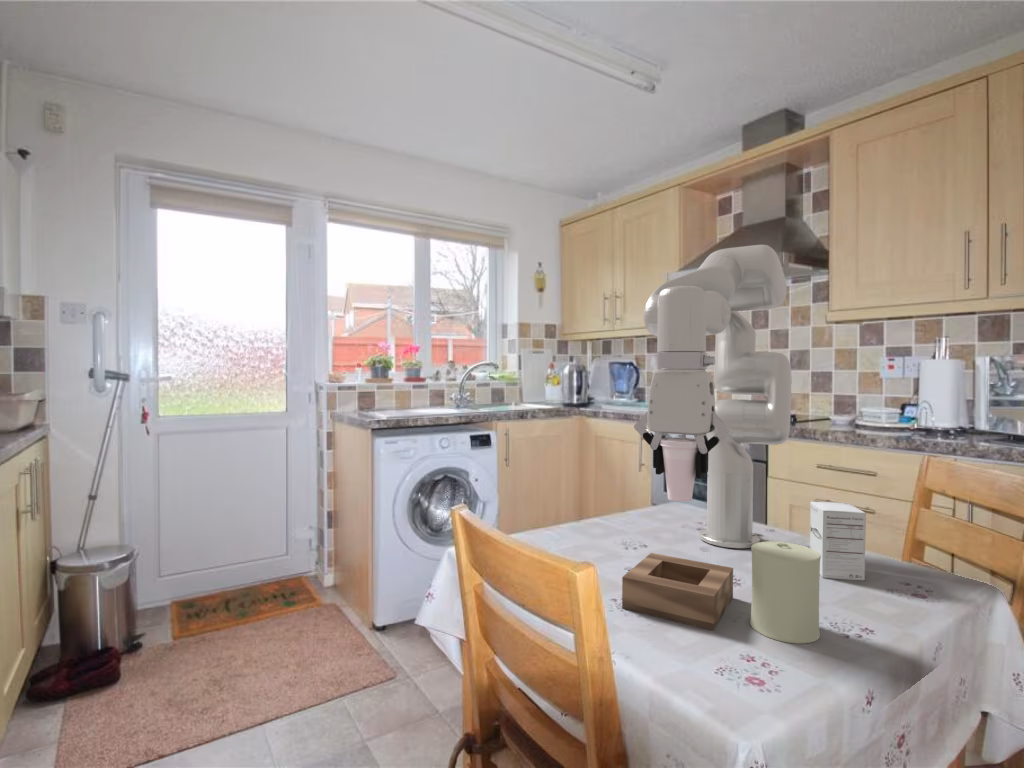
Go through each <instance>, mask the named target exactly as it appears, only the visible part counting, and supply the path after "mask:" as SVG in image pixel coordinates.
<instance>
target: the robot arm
mask: <svg viewBox="0 0 1024 768" xmlns="http://www.w3.org/2000/svg"><path fill="white" fill-rule="evenodd" d="M787 288H788V287H787V280H786V276H785V273H784V270H783V266H782V263H781V260H780V258H779V255H778V253H777V252H776V251H775V250H774V249H773V248H772V247H771V246H770V245H768V244H756V245H755V244H753V245H745V246H737V247H736V246H735V247H728V248H721V249H717V250H716V251H713V252H712V253H710V254H709V255H708V256H707V257H706V258H705V260H704V261H703V262H702V263H701V264H700V266H699V267H698V268H697V270H694V271H690V272H688V273H686V274H684V275H682V276H679V277H676V278H673V279H670V280H669V281H665V282H664V283H663V284H661V285H659V286H658V287H656V289H655V290H653V292H652V293H651V294H650V296H649V298H648V300H647V301H646V303H645V305H644V306H645V307H644V309H643V322H644V326H645V328H646V330H647V332H648V333H649V334H651V335H652V336H655V337H657V344H656V345H657V346H656V347H657V349H656V352H657V353H656V355H657V356H656V361H657V362H656V363H657V365H656V366H657V367H656V371H657V372H653V373H652V377H651V381H650V386H649V393H648V394H649V395H648V403H647V412H646V413H644V415H643V416H642V417H640V419H639V420H638V421H637V422H635V424H634V425H633V428H634V430H635V431H636V432H637V433H638V434H639V435H640V436H641V437H642V439H643V440H644V441H645V442H646V443H647V444H648V445H649V446H650V448H651V450H652V467H653V469H655V475H657V476H659V475H661V474H664V473H665V467H664V459H663V450H662V446H661V445H660V441H661V439H662V438H667V435H668V434H669V435H670V434H671V435H672V434H673V435H682V434H684V435H686V436H694V439H695V440H696V443H697V445H698V448H699V449H698V453H697V454H696V473H695V478H696V479H697V480H701V479H702V478H704V477H705V476H706V475H707V477H706V478H707V481H706V482H707V484H706V487H707V489H706V490H707V491H706V493H707V494H706V497H707V498H706V501H707V502H706V503H707V504H706V528H704V529H701V530H700V531H699V538H700V539H701V540H702V541H703V542H705V543H708V544H710V545H713V546H716V547H720V548H728V549H751V547H752V545H753V544H755V543H758V542H761V538H760V536H758V535H757V534H755V533H753V527H754V526H753V522H754V521H753V520H754V518H753V516H754V511H753V510H754V509H753V507H754V506H753V504H754V503H753V502H754V462H753V460H752V457H751V456H750V455H749V453H748V452H747V450H746V449H744V447H743V445H742V444H750V445H751V444H754V445H768V446H769V445H772V446H778V445H783V444H784V443H785V442H787V440H788V438H789V435H790V431H791V411H792V410H791V408H792V367H791V366H792V365H791V363H790V360H789V358H788V357H787V356H786V355H785V354H783V353H780V352H775V351H774V352H773V351H759V352H758V351H757V352H756V338H757V333H756V330H755V328H754V327H753V326H752V324H751V322H749V321H748V320H747V319H746V318H745V317H744V316H743V315H742V314H741V313H740V312H741V311H757V310H760V311H761V310H772V309H776V308H780V306H782V305H783V303H784V302H785V300H786V297H787V291H788V289H787ZM712 335H713V336H714V335H715V347H714V349H715V351H714V356H710V355H708V353H707V336H712ZM710 366H714V367H713V376H712V373H711V372H706V370H707V369H708V367H710ZM714 387H715V388H716V390H717V391H718V392H720V393H722V394H727V395H738V396H739V395H742V396H744V395H746V396H748V395H749V396H750V395H751V396H764V397H766V398H767V400H762V399H761V400H759V399H757V400H755V399H753V400H752V399H751V400H750V399H737V398H736V399H732V398H731V399H730V398H729V399H727V398H726V399H715V398H716V397H715V388H714ZM653 432H654V434H653Z"/></svg>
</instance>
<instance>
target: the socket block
mask: <svg viewBox="0 0 1024 768" xmlns="http://www.w3.org/2000/svg"><path fill="white" fill-rule="evenodd" d="M621 580H622V582H621V583H622V587H621V588H622V589H621V590H622V592H621V594H622V595H621V596H622V597H621V604H622V605H621V609H624V610H629V611H633V612H635V613H640V614H645V615H647V616H648V615H649V616H654V617H657V618H661V619H665V620H668V621H669V620H670V621H674V622H676V623H677V622H678V623H682V624H685V625H690V626H693V627H697V628H701V629H707V630H709V631H714V630H715V629H716V628H717V625H718V624H719V622H720V620H721V619H722V617H723V615H724V613H725V612H726V610H727V608H728V607H729V605H730V604H731V602H732V600H733V599H734V567H731V566H730V567H729V566H724V565H720V564H713V563H708V562H702V561H697V560H692V559H685V558H680V557H676V556H669V555H664V554H659V553H653V552H650V553H649V554H648V555H647V556H645V558H643V559H642V560H641V561H639V562H638V563H637V564H636V565H635V566H634V567H632V568H631V569H629V571H628V572H627V573H625V574H624V575H623V576H622V579H621Z"/></svg>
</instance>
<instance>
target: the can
mask: <svg viewBox="0 0 1024 768" xmlns="http://www.w3.org/2000/svg"><path fill="white" fill-rule="evenodd" d="M750 549H751V602H750V603H751V608H750V619H749V623H750V624H749V625H750V626H751V627H752V629H753V630H754V631H755V632H757V633H759V634H760V635H762V636H764V637H767V638H769V639H772V640H774V641H778V642H782V643H783V642H784V643H786V644H787V643H789V644H797V645H798V644H800V645H801V644H804V645H805V644H812V643H814V642H817V641H818V640H819V639H820V638H821V631H820V576H821V575H820V559H821V555H820V554H819V553H818V552H817V551H815V550H813V549H811V548H810V547H807V546H804V545H800V544H797V543H791V542H786V541H769V540H768V541H767V540H766V541H760V542H758V543H755V544H753V545H752V547H751V548H750Z"/></svg>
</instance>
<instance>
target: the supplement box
mask: <svg viewBox="0 0 1024 768" xmlns="http://www.w3.org/2000/svg"><path fill="white" fill-rule="evenodd" d="M809 504H810V505H809V509H810V510H809V511H810V512H809V548H811V549H813V550H815V551H817V552H818V553H819V554H820V555H821V559H820V576H821V578H823V579H824V578H825V579H833V580H834V579H835V580H836V579H837V580H850V581H865V580H866V579H865V577H866V574H865V573H866V535H867V534H866V533H867V532H866V528H867V525H866V520H867V512H865V511H863V510H862V509H860V508H858V507H856V506H854V505H852V503H849V502H838V501H837V502H836V501H835V502H834V501H833V502H830V501H810V503H809Z"/></svg>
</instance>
